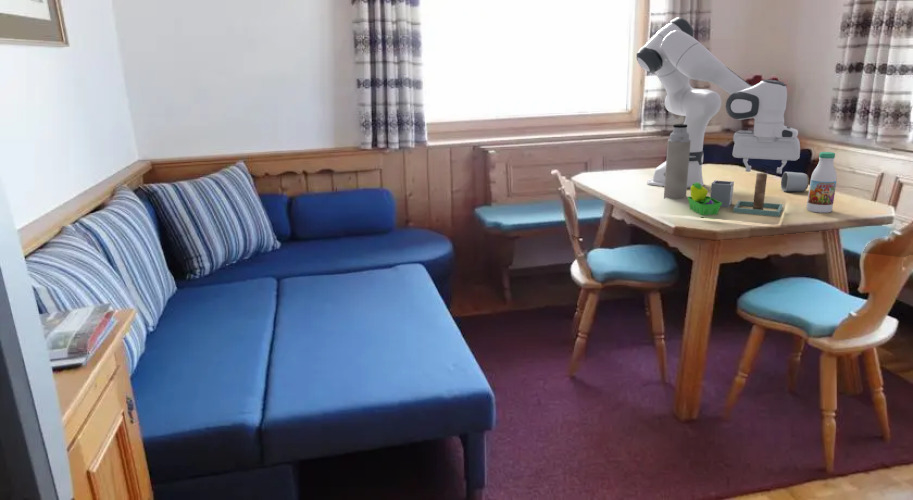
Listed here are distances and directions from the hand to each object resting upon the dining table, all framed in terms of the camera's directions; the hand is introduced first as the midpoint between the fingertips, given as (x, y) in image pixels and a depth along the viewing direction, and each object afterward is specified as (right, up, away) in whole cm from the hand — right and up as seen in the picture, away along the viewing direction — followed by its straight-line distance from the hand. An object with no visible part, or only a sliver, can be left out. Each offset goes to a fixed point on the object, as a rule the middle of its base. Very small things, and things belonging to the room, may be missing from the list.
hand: (763, 172), depth 212 cm
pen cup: (-9, -11, +13) cm, 19 cm away
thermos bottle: (-20, -7, +28) cm, 35 cm away
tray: (0, -14, +4) cm, 14 cm away
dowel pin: (0, -13, +4) cm, 14 cm away
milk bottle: (+22, -13, +5) cm, 26 cm away
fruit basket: (-19, -14, +5) cm, 24 cm away
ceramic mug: (+29, -3, +36) cm, 46 cm away
